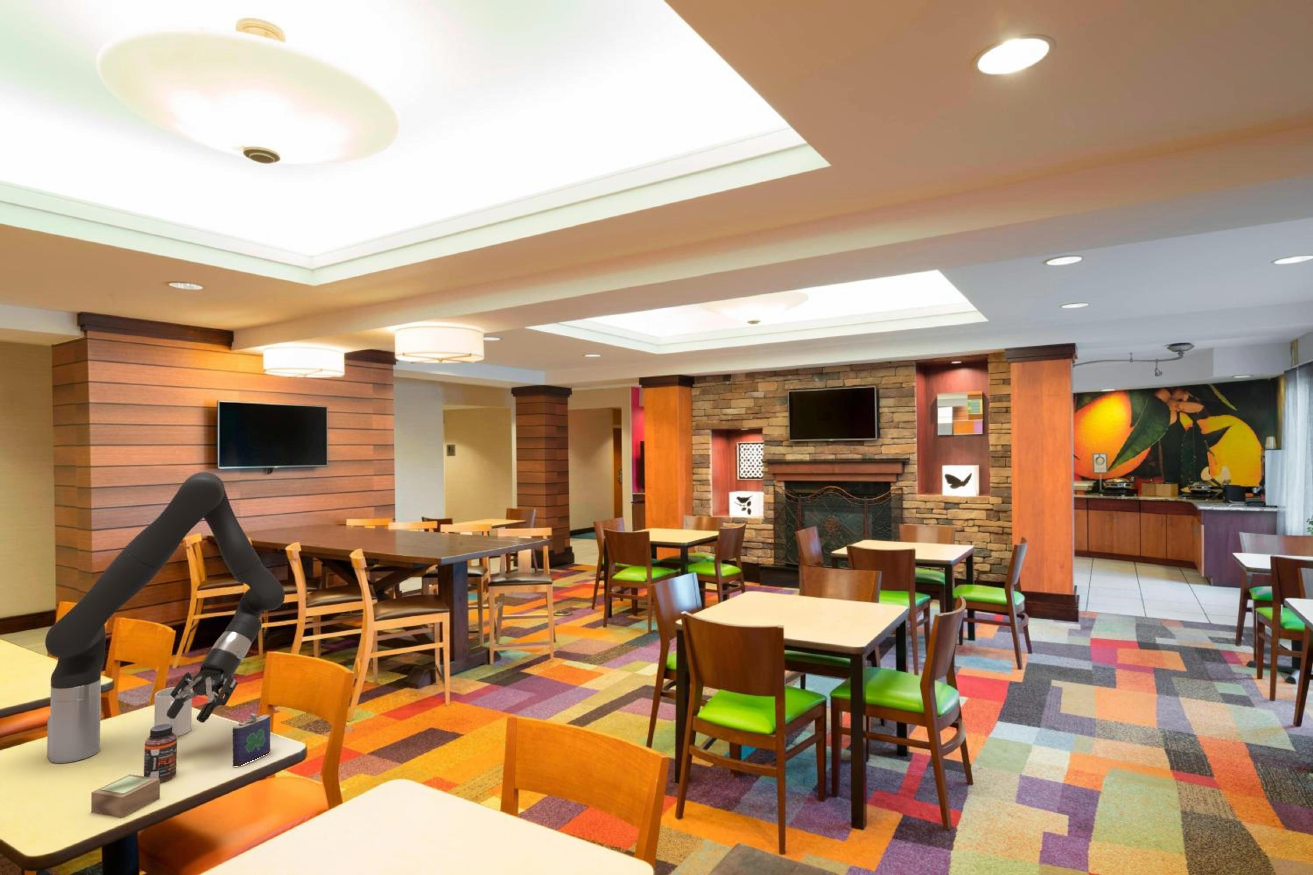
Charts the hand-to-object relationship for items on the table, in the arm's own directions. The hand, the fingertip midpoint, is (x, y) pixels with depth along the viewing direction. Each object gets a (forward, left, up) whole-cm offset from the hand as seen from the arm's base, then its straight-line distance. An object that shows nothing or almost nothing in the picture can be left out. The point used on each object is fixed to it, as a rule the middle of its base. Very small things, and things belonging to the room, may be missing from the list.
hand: (184, 719), depth 162 cm
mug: (-18, +13, -11) cm, 25 cm away
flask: (+12, +7, -11) cm, 18 cm away
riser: (+4, -17, -11) cm, 20 cm away
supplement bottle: (0, -6, -11) cm, 13 cm away
